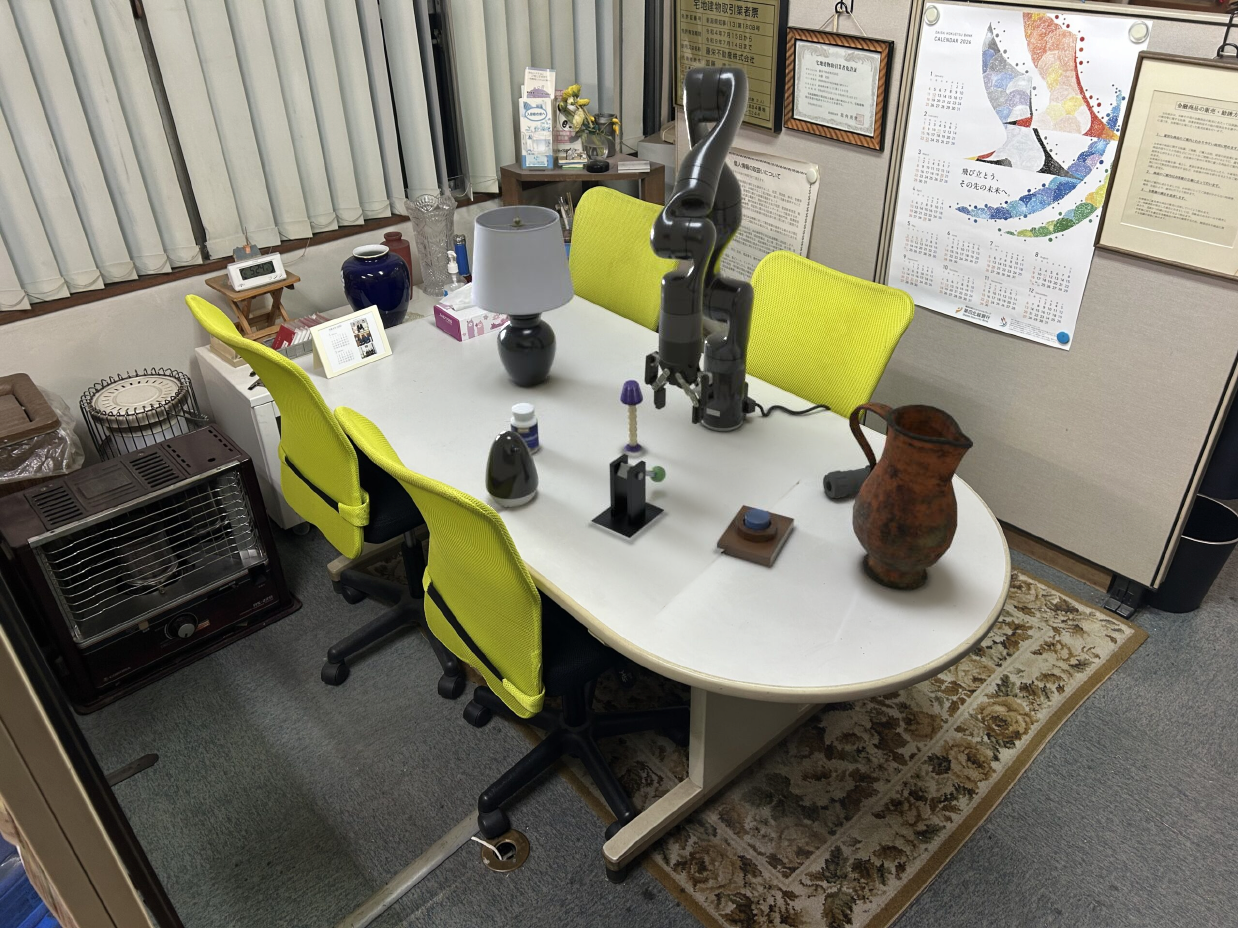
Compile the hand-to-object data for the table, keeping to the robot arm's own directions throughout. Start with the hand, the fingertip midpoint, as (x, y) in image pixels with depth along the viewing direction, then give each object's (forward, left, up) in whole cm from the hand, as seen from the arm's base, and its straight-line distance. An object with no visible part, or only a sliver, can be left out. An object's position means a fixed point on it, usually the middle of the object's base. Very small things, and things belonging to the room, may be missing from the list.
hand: (678, 415), depth 161 cm
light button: (-6, +17, -16) cm, 24 cm away
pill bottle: (+14, -35, -20) cm, 43 cm away
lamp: (-2, -64, -20) cm, 67 cm away
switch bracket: (+10, -1, -20) cm, 22 cm away
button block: (-6, +17, -20) cm, 27 cm away
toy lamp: (-4, -21, -20) cm, 29 cm away
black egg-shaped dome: (+25, -19, -20) cm, 38 cm away
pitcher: (-20, +35, -20) cm, 45 cm away
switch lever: (+7, -2, -13) cm, 15 cm away
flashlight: (-34, +16, -20) cm, 42 cm away
